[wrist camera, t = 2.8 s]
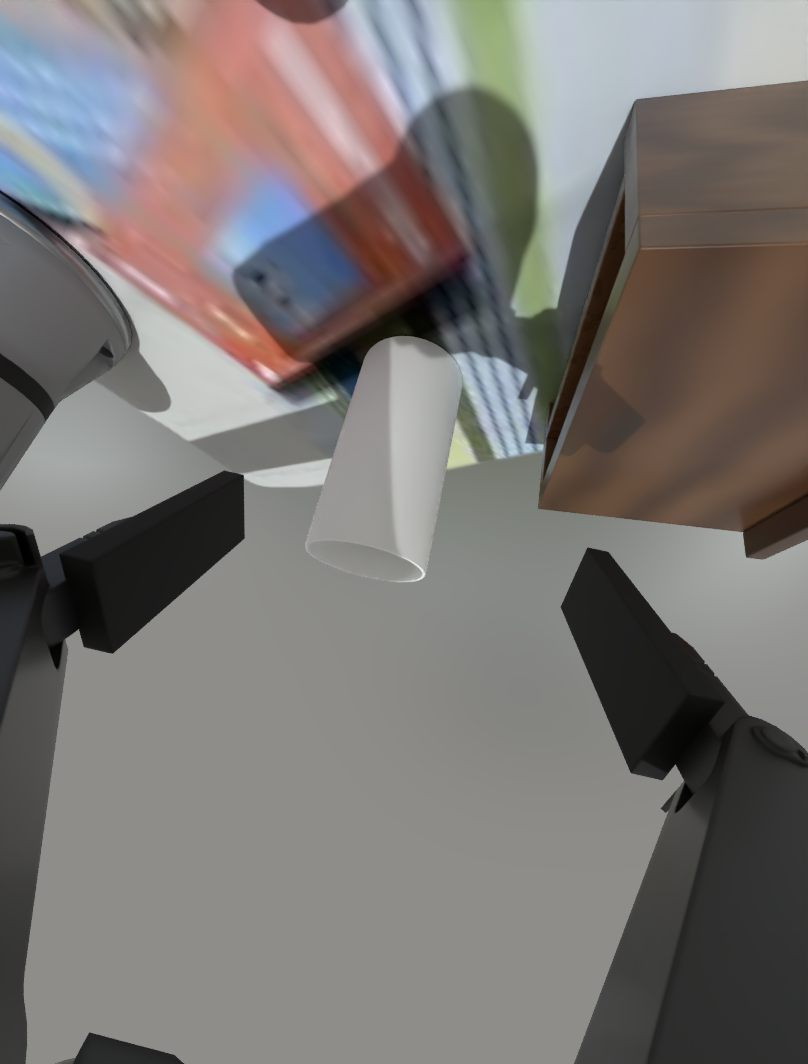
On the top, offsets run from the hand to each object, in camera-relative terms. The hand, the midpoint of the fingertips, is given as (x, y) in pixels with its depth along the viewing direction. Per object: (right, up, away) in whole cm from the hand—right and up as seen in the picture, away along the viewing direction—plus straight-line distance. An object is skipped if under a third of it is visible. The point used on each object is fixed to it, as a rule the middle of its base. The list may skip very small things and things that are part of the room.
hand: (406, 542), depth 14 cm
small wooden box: (+17, +13, +7) cm, 22 cm away
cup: (+1, +13, +16) cm, 21 cm away
